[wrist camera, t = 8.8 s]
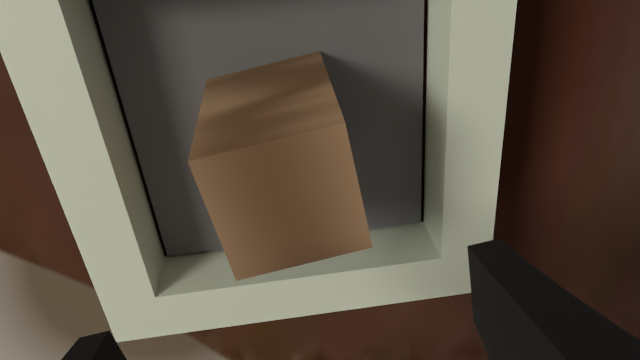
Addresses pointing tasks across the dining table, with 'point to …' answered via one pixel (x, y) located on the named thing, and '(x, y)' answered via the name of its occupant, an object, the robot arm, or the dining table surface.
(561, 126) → the dining table surface
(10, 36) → the board
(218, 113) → the walnut block
